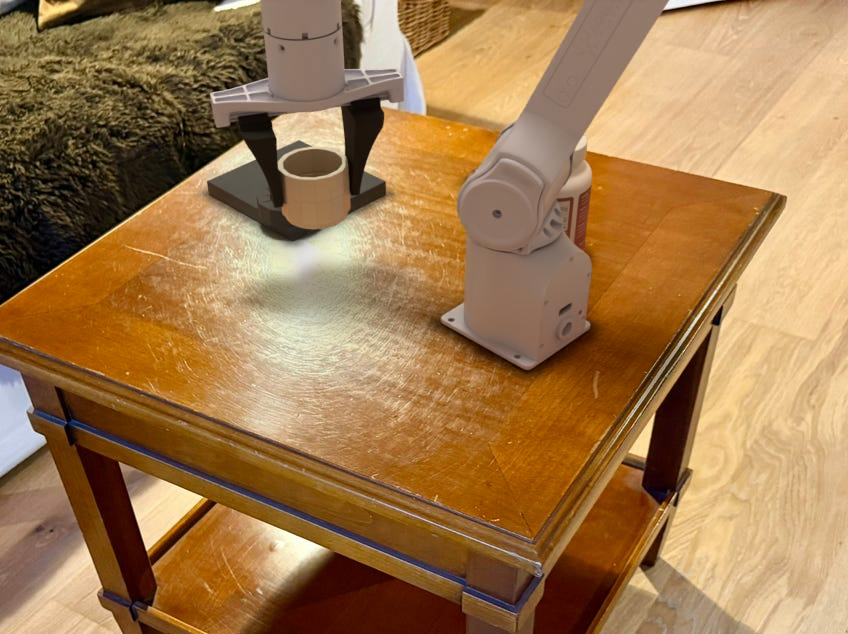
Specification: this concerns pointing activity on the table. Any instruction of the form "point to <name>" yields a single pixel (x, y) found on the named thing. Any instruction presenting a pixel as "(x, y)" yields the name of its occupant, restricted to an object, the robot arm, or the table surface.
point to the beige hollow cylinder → (314, 187)
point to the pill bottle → (577, 197)
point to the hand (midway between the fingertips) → (315, 195)
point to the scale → (253, 196)
